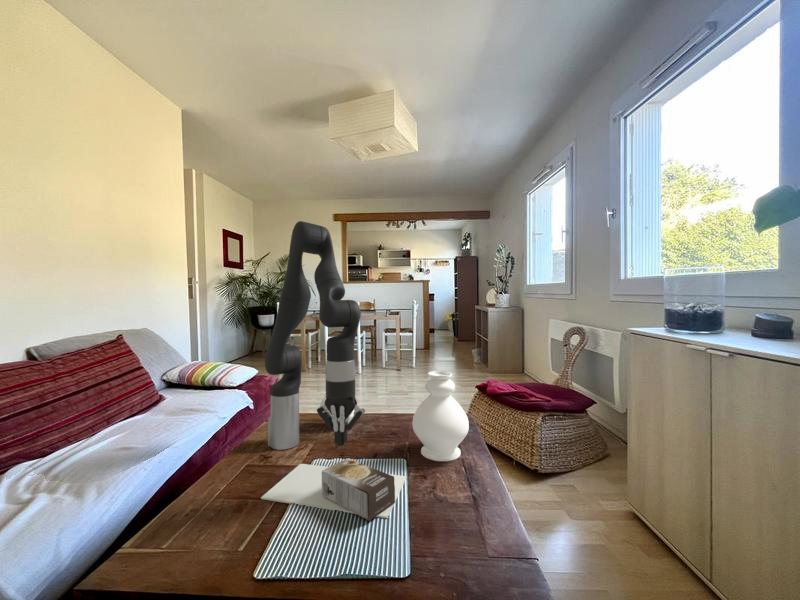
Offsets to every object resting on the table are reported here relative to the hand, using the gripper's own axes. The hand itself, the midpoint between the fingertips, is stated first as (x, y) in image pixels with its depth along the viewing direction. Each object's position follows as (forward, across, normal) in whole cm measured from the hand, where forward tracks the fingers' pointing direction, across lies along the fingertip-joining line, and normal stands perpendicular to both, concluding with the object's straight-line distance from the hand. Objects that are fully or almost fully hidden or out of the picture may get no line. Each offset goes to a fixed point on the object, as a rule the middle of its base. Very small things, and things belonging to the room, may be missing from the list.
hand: (340, 445), depth 86 cm
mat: (+11, -1, 0) cm, 11 cm away
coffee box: (+7, -1, -1) cm, 8 cm away
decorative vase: (+11, +22, +27) cm, 37 cm away
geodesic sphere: (+11, -20, +41) cm, 47 cm away
